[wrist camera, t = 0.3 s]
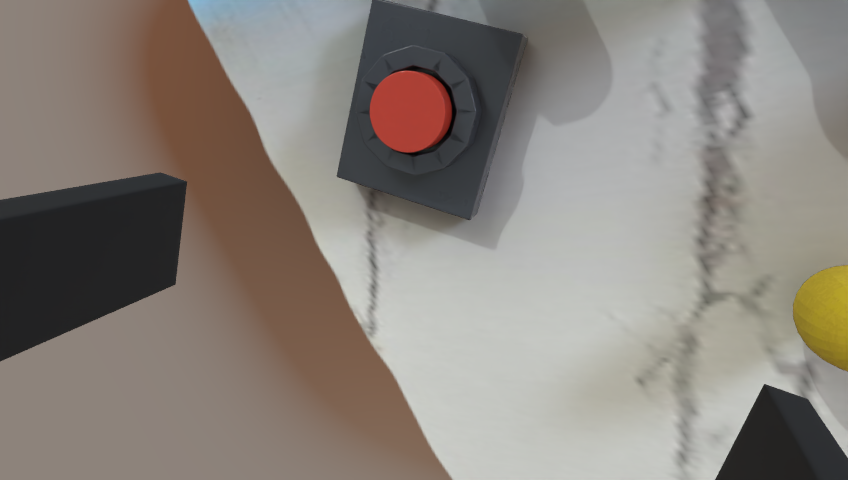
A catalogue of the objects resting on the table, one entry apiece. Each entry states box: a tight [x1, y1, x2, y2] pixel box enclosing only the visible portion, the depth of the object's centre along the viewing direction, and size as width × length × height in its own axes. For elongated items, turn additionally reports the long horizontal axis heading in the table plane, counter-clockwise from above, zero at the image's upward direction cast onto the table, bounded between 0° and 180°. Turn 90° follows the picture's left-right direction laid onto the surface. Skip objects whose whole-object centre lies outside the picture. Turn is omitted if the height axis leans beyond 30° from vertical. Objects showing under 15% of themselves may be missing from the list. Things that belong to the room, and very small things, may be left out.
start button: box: [370, 71, 452, 153], centre depth 34 cm, size 5×5×2 cm
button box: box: [337, 0, 527, 220], centre depth 37 cm, size 12×10×4 cm
